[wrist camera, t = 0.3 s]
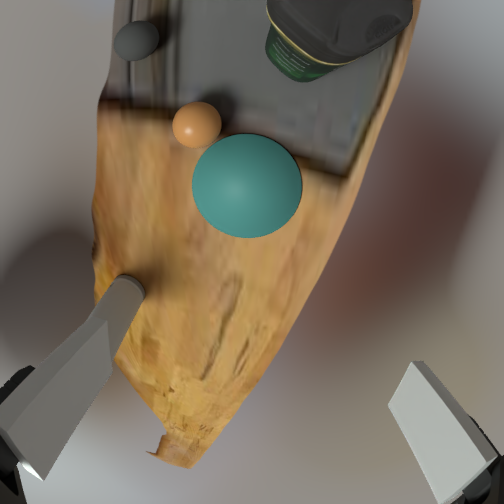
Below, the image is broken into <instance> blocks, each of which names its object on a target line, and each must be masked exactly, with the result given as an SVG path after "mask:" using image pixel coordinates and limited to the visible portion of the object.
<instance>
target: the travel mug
mask: <svg viewBox="0 0 504 504" xmlns="http://www.w3.org/2000/svg"><path fill="white" fill-rule="evenodd" d="M144 297H145V292H144V289H143V287H142V285H141V284H140V283H139V282H138V281H137V280H136V279H135V278H133V277H131V276H127V275H120V276H118V277H116V278H115V280H114V281H113V282H112V284H111V285H110V287H109V288H108V289H107V291H106V292H105V294H104V295H103V297H102V298H101V299H100V301H99V302H98V304H97V305H96V307H95V308H94V310H93V311H92V313H91V314H90V316H89V318H90V317H91V316H94V317H97V318H100V319H103V320H107V324H108V337H109V347H110V356H111V363H112V361H113V359H114V357H115V355H116V353H117V350H118V348H119V346H120V344H121V342H122V340H123V338H124V336H125V334H126V332H127V330H128V328H129V326H130V324H131V323H132V321H133V319H134V317H135V315H136V313H137V311H138V309H139V307H140V305H141V304H142V302H143V300H144ZM89 318H88V319H89ZM88 319H87V320H88Z"/></svg>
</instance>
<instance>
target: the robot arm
mask: <svg viewBox="0 0 504 504" xmlns="http://www.w3.org/2000/svg"><path fill="white" fill-rule="evenodd" d="M112 372H113V371H112V365H111V356H110V347H109V337H108V324H107V320H103V319H100V318H97V317H94V316H91V317H90V318H89V319H88V320H87V321H86V322H85V323H83V325H81V326H80V327H79V328H78V329H77V330H76V331H75V332H74V333H72V334H71V335H70V336H69V337H68V338H67V339H66V340H65V341H64V342H63V343H62V344H61V345H59V346H58V347H57V348H56V349H55V350H54V351H53V352H52V353H51V354H50V355H49V356H48V357H47V358H46V359H45V360H44V361H43V362H42V363H41V364H40V365H39V366H38V367H37V368H34V367H32V366H31V365H30V366H27V367H25V368H23V369H21V370H19V371H18V372H16V373H15V374H14V375H13V376H12V377H11V378H10V381H9V380H8V381H7V382H6V383H5V384H4V387H1V388H0V504H27V502H26V499H25V495H24V491H23V488H22V484H21V479H20V475H19V471H18V468H17V466H16V465H17V463H18V462H20V463H21V464H22V465H23V467H24V468H25V469H26V470H27V471H29V472H30V473H32V474H33V475H35V476H36V477H38V478H39V479H41V480H42V481H44V480H45V478H46V477H47V475H48V473H49V471H50V470H51V468H52V466H53V464H54V463H55V461H56V460H57V458H58V456H59V454H60V453H61V451H62V450H63V448H64V446H65V444H66V443H67V441H68V440H69V438H70V436H71V435H72V433H73V432H74V430H75V429H76V427H77V425H78V424H79V422H80V421H81V419H82V418H83V416H84V414H85V413H86V411H87V410H88V408H89V407H90V405H91V404H92V402H93V401H94V399H95V398H96V396H97V395H98V393H99V391H100V390H101V389H102V387H103V386H104V384H105V383H106V381H107V380H108V378H109V377H110V375H111V374H112ZM388 407H389V408H390V410H391V412H392V414H393V416H394V418H395V419H396V421H397V423H398V425H399V427H400V429H401V430H402V432H403V434H404V436H405V438H406V440H407V442H408V444H409V446H410V447H411V449H412V451H413V453H414V455H415V457H416V459H417V461H418V463H419V465H420V467H421V469H422V471H423V473H424V475H425V477H426V479H427V481H428V483H429V485H430V487H431V490H432V491H433V494H434V496H435V498H436V500H437V502H438V504H443V503H445V502H447V501H449V500H451V499H453V497H455V496H456V495H457V494H459V493H460V492H461V491H463V493H464V494H462V495H461V496H460V497H459V498H458V499H457V500H455V501H454V502H453V503H451V504H504V455H503V456H501V455H500V454H499V452H498V451H497V449H496V448H495V447H494V445H493V444H492V443H491V441H490V440H489V439H488V437H487V436H486V434H484V432H483V430H482V429H481V428H479V425H478V424H477V423H476V421H475V420H474V419H473V418H472V417H470V416H469V415H468V414H467V413H466V412H465V411H464V409H463V408H462V407H461V406H460V405H459V403H458V402H457V401H456V400H455V399H454V397H453V396H452V395H451V393H450V392H449V391H448V390H447V389H446V387H445V386H444V385H443V384H442V383H441V381H440V380H439V379H438V378H437V377H436V375H435V374H434V373H433V372H432V371H431V370H430V368H429V367H428V366H427V365H426V364H425V363H424V362H423V361H411V363H410V365H409V367H408V369H407V371H406V373H405V375H404V377H403V379H402V381H401V382H400V384H399V386H398V388H397V390H396V392H395V393H394V395H393V397H392V399H391V400H390V402H389V404H388Z"/></svg>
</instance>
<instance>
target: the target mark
mask: <svg viewBox="0 0 504 504" xmlns="http://www.w3.org/2000/svg"><path fill="white" fill-rule="evenodd" d="M192 191H193V197H194V200H195V203H196V205H197V208H198V209H199V211H200V213H201V214H202V216H203V217H204V218H205V219H206V220H207V221H208V222H209V223H210V224H211V225H212V226H213V227H215V228H216V229H218V230H220V231H221V232H224V233H226V234H228V235H231V236H235V237H241V238H255V237H261V236H264V235H267V234H270V233H272V232H274V231H276V230H278V229H279V228H281V227H282V226H283V225H284V224H286V223H287V222H288V221H289V219H290V218H291V217H292V216H293V214H294V213H295V211H296V209H297V207H298V205H299V202H300V198H301V192H302V183H301V176H300V172H299V169H298V167H297V165H296V163H295V161H294V160H293V158H292V157H291V155H290V154H289V153H288V152H287V151H286V150H285V149H284V148H283V147H282V146H281V145H279V144H278V143H276V142H275V141H273V140H271V139H269V138H266V137H263V136H259V135H255V134H238V135H233V136H229V137H226V138H224V139H222V140H220V141H218V142H216V143H215V144H213V145H212V146H211V147H210V148H208V149H207V150H206V151H205V153H204V154H203V155H202V156H201V158H200V159H199V161H198V163H197V165H196V167H195V170H194V174H193V179H192Z"/></svg>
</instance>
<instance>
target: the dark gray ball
mask: <svg viewBox="0 0 504 504" xmlns="http://www.w3.org/2000/svg"><path fill="white" fill-rule="evenodd" d="M158 42H159V33H158V30H157V28H156V27H155V26H154V25H153V24H151V23H149V22H147V21H134V22H131V23H129V24H127V25H125V26H124V27H123V28H121V29H120V31H119V32H118V33H117V35H116V37H115V40H114V49H115V52H116V53H117V55H118V56H119V57H121V58H122V59H124V60H128V61H137V60H141V59H144V58H146V57H147V56H149V55H150V54H151V53H152V52H153V51H154V50H155V48H156V47H157V45H158Z"/></svg>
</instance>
